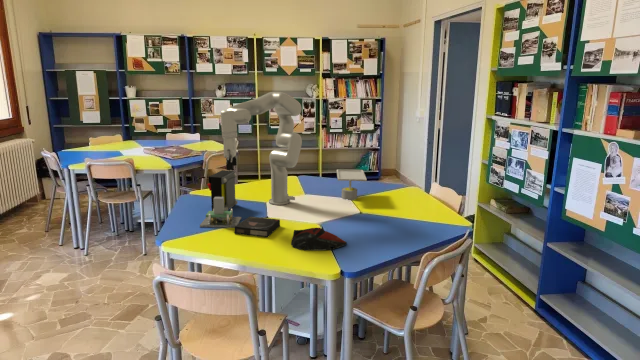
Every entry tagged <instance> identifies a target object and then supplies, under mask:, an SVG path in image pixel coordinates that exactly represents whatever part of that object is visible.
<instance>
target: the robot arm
mask: <svg viewBox="0 0 640 360" xmlns="http://www.w3.org/2000/svg"><path fill="white" fill-rule="evenodd" d="M272 109H274V110H275V113H276V115H277V117H278V120H279V126H278V129H277V134H276V137H275V144H276V146H277V147H279V148H281V149H277V148H276V149H273V150H272V151H270V153H269V156H268V160H269V165H270V175H271V176H270V178H271V179H270V184H271V190H270V191H271V195H270V197H271V198H270V199H268V203H269V204H270V205H275V206H279V205H280V206H283V205H289V204H290V203H291V201H295V200H296V196H294V195H289V193H288V170H287V168H289V169H292V168H294V167H296V166H297V164H298V162H299V157H300V153H301V150H302V144H303V139H302V137H301V135H300V133H297V132H294V129H295V128H294V127H295V123H294V119H293V117H297V116H299V115H300V114H301V113H302V104H301V102H299V101H298V100H297V99H295V98H294V97H293V96H291V95H289V94H288V93H286V92H282V91H269V92H267V93H265V94H263V95H260V96H258V97H257V98H255V99H254V98H253V99H251V100H248V101H243V102H241V103H237V104H234V105H233V106H231V107H228V108H227V109H224V110H221V111H220V123H221V124H220V126H221V136H222V137H221V138H222V139H223V158H225V164H226V171H234V166H237V165H238V164H237V162H238V161H237V142H236V139H237V138H238V128H237V127H238V124H241V125H242V124H247V123H248V122H250V121H251V120H252V116H258V115H262V114H265V113H266V112H268V111H270V110H272ZM285 149H287V150H285Z"/></svg>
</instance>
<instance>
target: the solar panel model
mask: <svg viewBox="0 0 640 360" xmlns="http://www.w3.org/2000/svg"><path fill="white" fill-rule="evenodd" d="M336 177H337V181H338V182H339V181H341V182H342V181H343V182H344V181H345V182H348V186H345V187H342V188H341V199H343V200H346V199H348V200H347V201H353V200H357V199H358V189H357V188H356V187H352V182H367V181H368V180H367V177H366V174H365V171H364V170H363V169H336Z"/></svg>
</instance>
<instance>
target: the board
mask: <svg viewBox="0 0 640 360" xmlns="http://www.w3.org/2000/svg"><path fill="white" fill-rule="evenodd" d="M213 201H214V211H212V210H208V211H207V213H206V214H205V218H206V217H209V214H211V217H227V214H229V218H230V217H231V215H232V213H233V214H234V212H232V211H231V210H228V211H224V197H214V198H213Z"/></svg>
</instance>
